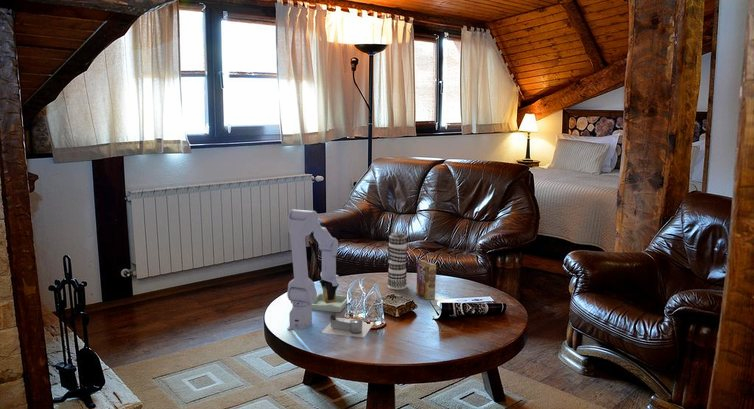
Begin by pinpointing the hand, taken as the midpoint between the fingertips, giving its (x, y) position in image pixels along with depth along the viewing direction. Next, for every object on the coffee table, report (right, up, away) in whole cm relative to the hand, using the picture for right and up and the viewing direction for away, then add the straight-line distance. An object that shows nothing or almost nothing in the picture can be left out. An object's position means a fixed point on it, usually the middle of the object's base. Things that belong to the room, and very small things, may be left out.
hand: (329, 298), depth 246 cm
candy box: (+41, -2, +15) cm, 43 cm away
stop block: (0, -1, 0) cm, 2 cm away
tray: (0, -4, +1) cm, 4 cm away
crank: (+8, -7, -26) cm, 29 cm away
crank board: (+9, -8, -23) cm, 26 cm away
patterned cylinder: (+29, +1, +28) cm, 40 cm away
